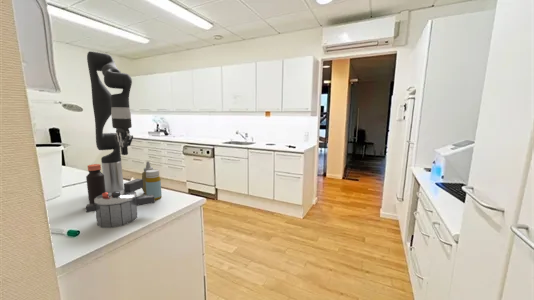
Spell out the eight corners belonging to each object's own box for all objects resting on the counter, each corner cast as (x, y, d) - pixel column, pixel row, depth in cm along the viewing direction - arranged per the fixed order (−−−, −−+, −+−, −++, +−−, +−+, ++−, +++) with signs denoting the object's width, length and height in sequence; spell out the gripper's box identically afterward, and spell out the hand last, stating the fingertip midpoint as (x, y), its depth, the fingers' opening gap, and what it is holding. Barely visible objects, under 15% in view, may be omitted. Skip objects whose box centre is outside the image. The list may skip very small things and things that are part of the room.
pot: (85, 232, 86) (82, 210, 84) (91, 218, 98) (89, 198, 96) (156, 219, 97) (154, 199, 96) (154, 207, 109) (152, 189, 108)
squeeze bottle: (147, 196, 124) (144, 163, 121) (139, 193, 128) (136, 161, 125) (161, 192, 131) (159, 161, 128) (152, 189, 135) (150, 159, 132)
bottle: (144, 199, 120) (141, 171, 117) (155, 195, 126) (154, 168, 123) (152, 201, 116) (150, 173, 114) (164, 197, 123) (162, 170, 120)
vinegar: (107, 206, 110) (103, 165, 107) (89, 209, 106) (84, 167, 103) (106, 201, 116) (102, 163, 113) (89, 204, 112) (85, 164, 109)
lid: (117, 207, 87) (115, 195, 86) (84, 204, 89) (83, 192, 89) (154, 189, 107) (153, 179, 107) (127, 187, 110) (126, 177, 109)
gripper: (105, 117, 105) (108, 154, 108) (120, 118, 99) (124, 157, 102) (122, 117, 112) (125, 152, 115) (137, 117, 105) (140, 155, 108)
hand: (124, 154), depth 108 cm, fingers closed
